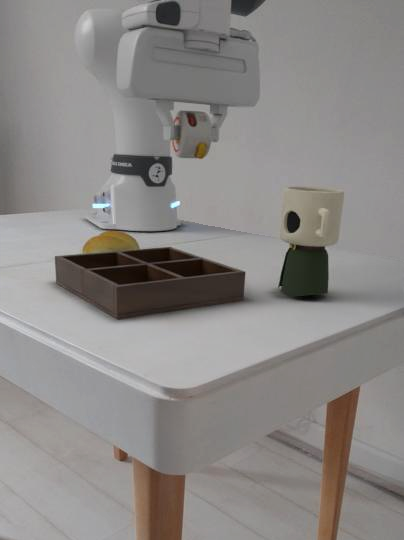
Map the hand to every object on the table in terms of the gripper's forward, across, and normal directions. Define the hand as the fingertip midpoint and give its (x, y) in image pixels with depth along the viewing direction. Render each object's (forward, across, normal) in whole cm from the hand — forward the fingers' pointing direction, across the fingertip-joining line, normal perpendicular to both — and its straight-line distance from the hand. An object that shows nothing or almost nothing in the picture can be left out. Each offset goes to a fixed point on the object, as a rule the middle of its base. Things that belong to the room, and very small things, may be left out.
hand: (191, 141), depth 74 cm
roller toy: (+2, 0, 0) cm, 2 cm away
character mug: (+18, -7, +16) cm, 25 cm away
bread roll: (+18, +5, -14) cm, 23 cm away
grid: (+18, +10, +6) cm, 21 cm away
